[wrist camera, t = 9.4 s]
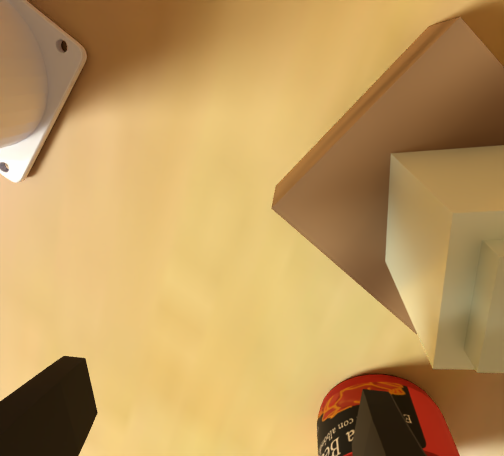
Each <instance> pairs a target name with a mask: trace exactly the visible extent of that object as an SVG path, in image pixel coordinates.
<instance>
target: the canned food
mask: <svg viewBox="0 0 504 456" xmlns="http://www.w3.org/2000/svg"><path fill="white" fill-rule="evenodd" d="M363 389H368V390H377V391H386V392H389V393H390V394H391V395H392V397H393V398H394V400H395V402H396V404H397V406H398V408H399V409H400V411H401V413H402V415H403V416H404V418H405V420H406V422H407V423H408V425H409V427H410V429H411V430H412V432H413V434H414V435H415V437H416V439H417V440H418V442H419V444H420V445H421V447H422V449H423V450H424V452H425V454H426V455H427V456H460V455H459V453H458V450H457V448H456V445H455V443H454V441H453V438H452V436H451V433H450V431H449V429H448V426H447V424H446V422H445V419H444V417H443V415H442V413H441V411H440V409H439V408H438V406H437V405H436V404H435V403H434V402H433V400H432V399H431V398H430V397H429V396H428V395H427V394H426V392H425V391H424V390H422V389H421V388H420V387H418V386H417V385H415V384H413V383H411V382H409V381H407V380H405V379H402V378H399V377H395V376H390V375H382V374H371V375H363V376H357V377H354V378H351V379H348V380H346V381H344V382H342V383H340V384H338V385H337V386H336V387H334V388H333V389H332V390H331V391H330V392H329V393H328V394H327V396H326V397H325V398H324V400H323V403H322V405H321V408H320V411H319V415H318V420H317V438H318V456H353V455H352V441H353V436H354V431H355V426H356V420H357V415H358V410H359V405H360V400H361V395H362V390H363Z"/></svg>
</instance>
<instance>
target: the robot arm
mask: <svg viewBox="0 0 504 456" xmlns="http://www.w3.org/2000/svg"><path fill="white" fill-rule="evenodd" d="M63 40H64V41H65V42H66V44H67V51H66V52H64V51H63V50H62V47H61V43H62V41H63ZM86 59H87V55H86V51H85V49H84V47H83V46H82V45H81V44H80V43H79V42H77V41H76V40H75V39H74V38H72V37H71V36H70V35H69V34H67V33H66V32H65V31H64V30H62V29H61V28H60V27H59V26H58V25H56V24H55V23H54V22H53V21H51V20H50V19H49V18H48V17H46V16H45V15H44V14H43V13H41V12H40V11H39V10H38V9H36V8H35V7H34V6H33V5H32V4H30V3H29V2H28V1H27V0H0V174H2V175H3V176H4V177H6V178H7V179H9V180H10V181H12V182H16V183H18V182H21V181H23V180H25V179H26V177H27V175H28V174H29V172H30V170H31V168H32V166H33V164H34V162H35V160H36V158H37V156H38V154H39V152H40V150H41V148H42V146H43V144H44V142H45V140H46V138H47V136H48V135H49V133H50V131H51V129H52V127H53V125H54V123H55V121H56V119H57V117H58V115H59V113H60V111H61V109H62V107H63V105H64V103H65V101H66V99H67V97H68V96H69V94H70V92H71V90H72V88H73V86H74V84H75V82H76V80H77V78H78V76H79V74H80V72H81V70H82V68H83V66H84V64H85V62H86ZM5 163H6V164H7V165H8V166H9V169H7V168H6V166H5ZM96 415H97V409H96V404H95V400H94V395H93V391H92V386H91V382H90V377H89V373H88V368H87V364H86V359H85V358H78V357H69V356H63V357H62V358H60V359H59V360H57V361H56V362H54V363H53V364H52V365H50V366H49V367H47V368H46V369H45V370H43V371H42V372H40V373H39V374H38V375H36V376H35V377H33V378H32V379H31V380H29V381H28V382H27V383H25V384H24V385H22V386H21V387H20V388H18V389H17V390H16V391H14V392H13V393H11V394H10V395H9V396H7V397H6V398H4V399H3V400H2V401H0V456H78V455H79V453H80V451H81V449H82V447H83V445H84V442H85V440H86V438H87V436H88V434H89V431H90V429H91V427H92V424H93V422H94V420H95V417H96ZM352 455H353V456H427V455H426V454H425V452H424V450H423V449H422V447H421V445H420V444H419V442H418V440H417V439H416V437H415V435H414V434H413V432H412V430H411V429H410V427H409V425H408V423H407V422H406V420H405V418H404V416H403V415H402V413H401V411H400V409H399V408H398V406H397V404H396V402H395V400H394V398H393V397H392V395H391V394H390V393H389V392H386V391H377V390H368V389H363V390H362V395H361V400H360V405H359V410H358V415H357V420H356V426H355V431H354V436H353V441H352Z"/></svg>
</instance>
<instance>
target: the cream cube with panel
mask: <svg viewBox="0 0 504 456" xmlns="http://www.w3.org/2000/svg"><path fill="white" fill-rule="evenodd" d="M385 262H386V264H387V266H388V269H389V271H390V273H391V275H392V278H393V280H394V282H395V285H396V287H397V289H398V291H399V294H400V296H401V298H402V300H403V303H404V305H405V307H406V310H407V312H408V314H409V316H410V319H411V321H412V323H413V325H414V328H415V330H416V332H417V335H418V337H419V339H420V341H421V344H422V346H423V348H424V350H425V353H426V355H427V357H428V360H429V362H430V364H431V366H432V369H459V370H476V372H477V373H504V145H498V146H485V147H471V148H457V149H444V150H430V151H416V152H403V153H391V159H390V178H389V198H388V217H387V236H386V256H385Z"/></svg>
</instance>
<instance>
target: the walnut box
mask: <svg viewBox="0 0 504 456" xmlns="http://www.w3.org/2000/svg"><path fill="white" fill-rule="evenodd" d="M498 145H504V66H503V65H502V64H501V63H500V62H499V61H498V60H497V58H496V57H495V56H494V55H493V54H492V53H491V52H490V50H489V49H488V48H487V47H486V46H485V45H484V44H483V42H482V41H481V40H480V39H479V38H478V37H477V35H476V34H475V33H474V32H473V31H472V30H471V29H470V27H469V26H468V25H467V24H466V23H465V22H464V21H463V19H462V18H461V17H458V18H454V19H451V20H448V21H445V22H441V23H438V24H435V25H432V26H429V27H428V28H427V29H426V30H425V31H424V32H423V33H422V34H421V35H420V36H419V37H418V38H417V39H416V40H415V41H414V43H413V44H412V45H411V46H410V47H409V48H408V49H407V50H406V51H405V52H404V53H403V54H402V55H401V56H400V57H399V58H398V59H397V60H396V61H395V62H394V63H393V64H392V65H391V67H390V68H389V69H388V70H387V71H386V72H385V73H384V74H383V75H382V76H381V77H380V78H379V79H378V80H377V81H376V82H375V83H374V84H373V85H372V86H371V87H370V88H369V89H368V91H367V92H366V93H365V94H364V95H363V96H362V97H361V98H360V99H359V100H358V101H357V102H356V103H355V104H354V105H353V106H352V107H351V108H350V109H349V110H348V111H347V112H346V113H345V115H344V116H343V117H342V118H341V119H340V120H339V121H338V122H337V123H336V124H335V125H334V126H333V127H332V128H331V129H330V130H329V131H328V132H327V133H326V134H325V135H324V136H323V137H322V139H321V140H320V141H319V142H318V143H317V144H316V145H315V146H314V147H313V148H312V149H311V150H310V151H309V152H308V153H307V154H306V155H305V156H304V157H303V158H302V159H301V160H300V161H299V163H298V164H297V165H296V166H295V167H294V168H293V169H292V170H291V171H290V172H289V173H288V174H287V175H286V176H285V177H284V178H283V179H282V180H281V181H280V182H279V183H278V184H277V185H276V188H275V193H274V198H273V203H272V209H273V210H274V211H275V212H276V213H278V214H279V215H280V216H281V217H282V218H283V219H284V220H286V221H287V222H288V223H289V224H290V225H291V226H292V227H294V228H295V229H296V230H297V231H298V232H299V233H301V234H302V235H303V236H304V237H305V238H306V239H307V240H309V241H310V242H311V243H312V244H313V245H314V246H316V247H317V248H318V249H319V250H320V251H321V252H322V253H324V254H325V255H326V256H327V257H328V258H329V259H331V260H332V261H333V262H334V263H335V264H336V265H337V266H339V267H340V268H341V269H342V270H343V271H344V272H346V273H347V274H348V275H349V276H350V277H351V278H352V279H354V280H355V281H356V282H357V283H358V284H359V285H360V286H362V287H363V288H364V289H365V290H366V291H367V292H369V293H370V294H371V295H372V296H373V297H374V298H375V299H377V300H378V301H379V302H380V303H381V304H382V305H384V306H385V307H386V308H387V309H388V310H389V311H390V312H392V313H393V314H394V315H395V316H396V317H397V318H399V319H400V320H401V321H402V322H403V323H404V324H405V325H407V326H408V327H409V328H410V329H411V330H412V331H413V332H415V333H416V334H417V332H416V330H415V328H414V325H413V323H412V321H411V319H410V316H409V314H408V312H407V310H406V307H405V305H404V303H403V300H402V298H401V296H400V294H399V291H398V289H397V287H396V285H395V282H394V280H393V278H392V275H391V273H390V271H389V269H388V266H387V264H386V262H385V256H386V236H387V217H388V198H389V178H390V159H391V153H403V152H416V151H430V150H444V149H457V148H471V147H485V146H498Z"/></svg>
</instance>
